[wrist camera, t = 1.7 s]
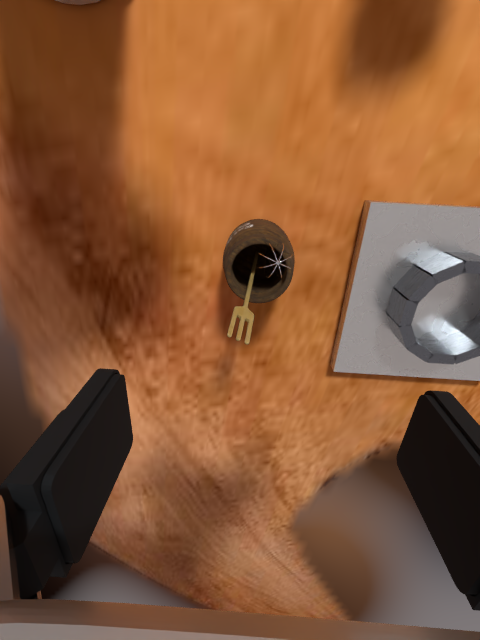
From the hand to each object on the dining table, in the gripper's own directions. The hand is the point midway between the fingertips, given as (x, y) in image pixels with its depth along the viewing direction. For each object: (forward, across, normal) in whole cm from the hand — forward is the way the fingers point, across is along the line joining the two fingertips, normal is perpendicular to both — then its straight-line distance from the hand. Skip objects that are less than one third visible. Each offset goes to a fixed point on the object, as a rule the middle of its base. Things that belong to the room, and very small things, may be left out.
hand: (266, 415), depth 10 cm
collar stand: (+22, -17, +3) cm, 28 cm away
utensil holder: (+22, 0, 0) cm, 22 cm away
